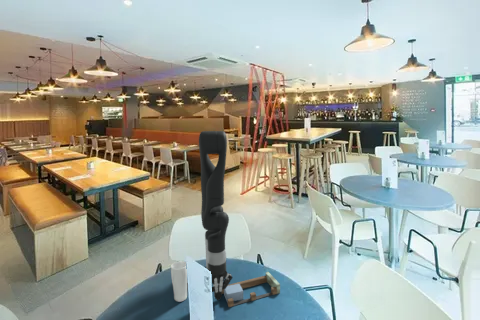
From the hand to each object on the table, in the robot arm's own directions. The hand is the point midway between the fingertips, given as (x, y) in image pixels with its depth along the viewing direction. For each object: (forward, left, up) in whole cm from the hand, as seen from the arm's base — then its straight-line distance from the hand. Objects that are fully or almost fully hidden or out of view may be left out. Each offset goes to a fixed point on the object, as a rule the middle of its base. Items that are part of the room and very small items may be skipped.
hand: (218, 298), depth 110 cm
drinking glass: (-8, -14, -1) cm, 16 cm away
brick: (0, +7, -1) cm, 7 cm away
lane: (0, +14, -1) cm, 14 cm away
